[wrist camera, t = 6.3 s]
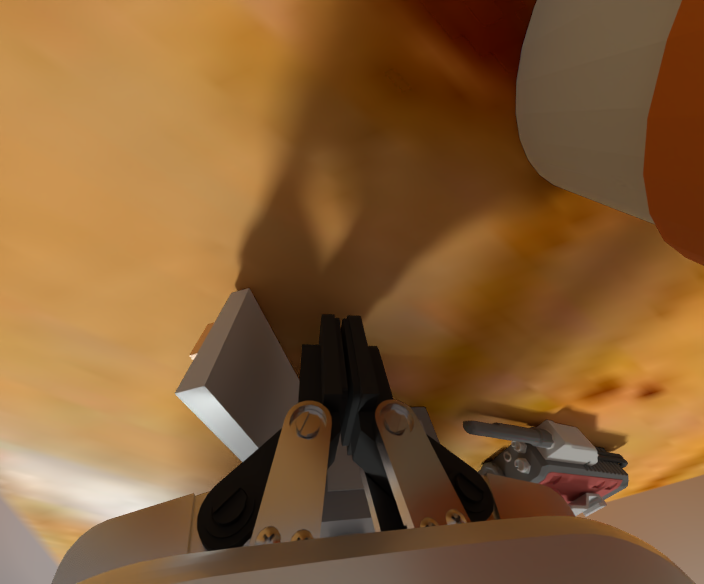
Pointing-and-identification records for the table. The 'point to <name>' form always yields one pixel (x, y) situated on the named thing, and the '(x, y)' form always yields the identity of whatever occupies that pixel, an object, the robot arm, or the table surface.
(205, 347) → the side door
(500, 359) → the table surface
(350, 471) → the camera body
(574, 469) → the walkie-talkie
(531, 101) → the reusable coffee cup
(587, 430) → the table surface
